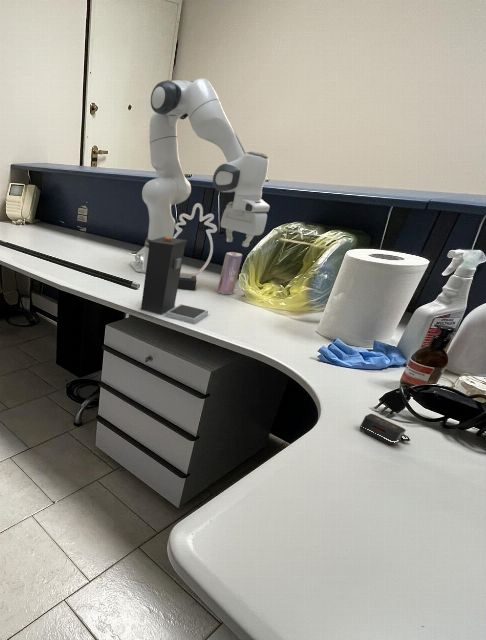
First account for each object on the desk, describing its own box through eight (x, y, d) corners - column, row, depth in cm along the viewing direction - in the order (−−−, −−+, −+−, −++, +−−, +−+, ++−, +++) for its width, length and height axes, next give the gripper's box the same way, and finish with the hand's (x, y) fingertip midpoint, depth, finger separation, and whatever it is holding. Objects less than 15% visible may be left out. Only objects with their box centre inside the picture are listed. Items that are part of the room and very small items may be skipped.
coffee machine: (139, 309, 143) (148, 238, 131) (154, 301, 151) (164, 234, 139) (194, 323, 132) (209, 247, 120) (207, 314, 139) (223, 242, 127)
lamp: (204, 285, 170) (221, 203, 154) (205, 291, 163) (223, 205, 147) (163, 281, 174) (176, 201, 158) (162, 287, 167) (175, 203, 151)
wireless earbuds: (396, 449, 77) (404, 436, 76) (357, 429, 83) (363, 416, 81) (409, 442, 79) (417, 429, 78) (370, 423, 85) (376, 410, 83)
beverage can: (230, 290, 164) (239, 252, 157) (235, 294, 159) (244, 255, 151) (215, 289, 165) (224, 251, 157) (219, 294, 160) (228, 255, 152)
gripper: (220, 201, 154) (213, 239, 160) (257, 207, 136) (247, 249, 143) (235, 200, 155) (227, 238, 162) (273, 207, 138) (262, 249, 145)
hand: (236, 244), depth 152 cm, fingers open, 8 cm apart
